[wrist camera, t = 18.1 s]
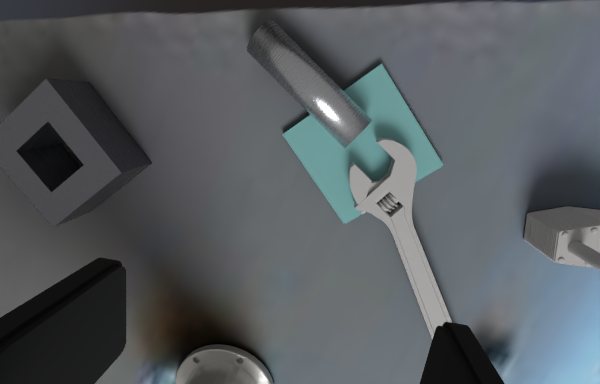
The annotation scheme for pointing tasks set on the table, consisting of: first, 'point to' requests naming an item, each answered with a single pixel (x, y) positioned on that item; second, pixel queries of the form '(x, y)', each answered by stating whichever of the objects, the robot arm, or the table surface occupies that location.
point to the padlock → (566, 235)
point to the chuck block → (53, 157)
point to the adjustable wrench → (401, 224)
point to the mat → (362, 142)
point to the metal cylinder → (307, 83)
